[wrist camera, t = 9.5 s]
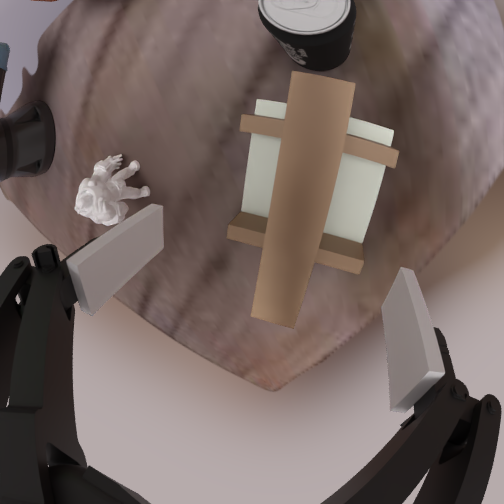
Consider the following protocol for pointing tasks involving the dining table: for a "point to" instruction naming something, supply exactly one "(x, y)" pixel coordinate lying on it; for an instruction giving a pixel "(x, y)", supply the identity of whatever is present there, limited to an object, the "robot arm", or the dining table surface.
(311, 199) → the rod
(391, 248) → the dining table surface
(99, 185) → the figurine
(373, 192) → the rest stand
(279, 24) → the beverage can
